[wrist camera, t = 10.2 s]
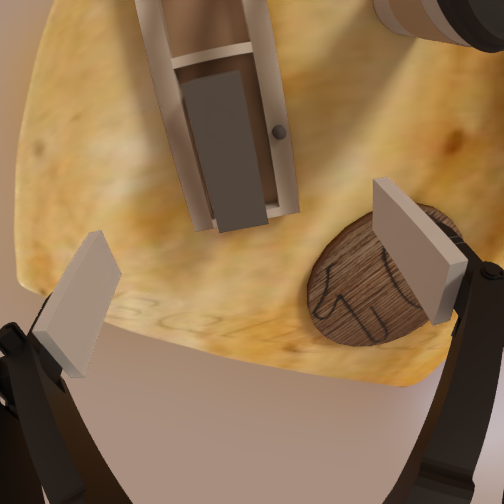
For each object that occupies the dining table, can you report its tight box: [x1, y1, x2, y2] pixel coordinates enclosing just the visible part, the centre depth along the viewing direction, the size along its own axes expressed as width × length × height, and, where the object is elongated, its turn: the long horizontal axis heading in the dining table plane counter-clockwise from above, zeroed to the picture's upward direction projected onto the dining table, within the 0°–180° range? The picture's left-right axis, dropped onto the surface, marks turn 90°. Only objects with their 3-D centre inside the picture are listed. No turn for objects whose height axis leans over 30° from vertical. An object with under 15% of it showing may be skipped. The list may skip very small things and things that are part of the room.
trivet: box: [307, 203, 463, 346], centre depth 42 cm, size 25×25×2 cm
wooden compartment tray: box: [135, 0, 300, 232], centre depth 24 cm, size 11×34×4 cm, turn 10°
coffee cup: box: [373, 0, 504, 53], centre depth 16 cm, size 9×9×15 cm
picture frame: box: [182, 70, 269, 233], centre depth 25 cm, size 4×12×8 cm, turn 10°
